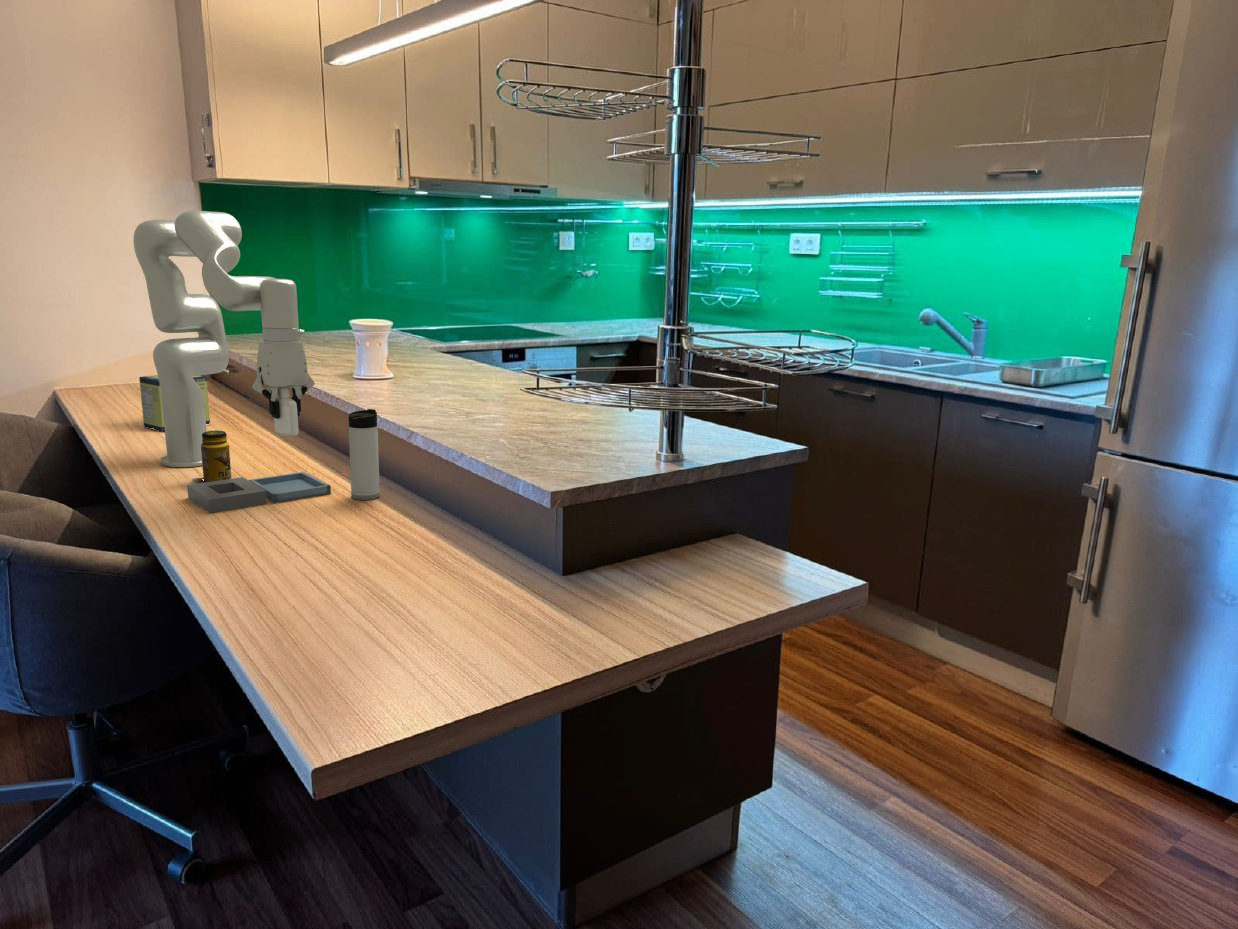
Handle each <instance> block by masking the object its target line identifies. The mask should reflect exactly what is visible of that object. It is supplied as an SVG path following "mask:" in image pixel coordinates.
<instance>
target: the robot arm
mask: <svg viewBox="0 0 1238 929" xmlns="http://www.w3.org/2000/svg"><path fill="white" fill-rule="evenodd" d="M242 235H243V233H242V227H241V225H240V222H239V221H238V220H237V219H236V218H235V217H234V216H233V215H231V214H230V213H227V212H221V211H220V212H219V211H206V210H187V211H185V212H182V213H180V214H179V215H178V216H177V217H176V218H175V220H173V219H150V220H146V221H143V222H141V223H139V224H138V225H137V227H135V230H134V232H133V240H132V241H133V242H132V243H133V248H134V250H133V251H134V253H135V256H136V257H135V258H136V259H137V262H138V264H139V265H140V266H139V267H140V268H141V270H142V273H143V276H144V278H145V283H146V289H147V296H148V299H149V304H150V310H151V315H152V320H153V322H154V325H155V327H156V329H158V330H159V331H160V332H163V333H167V334H181V333H182V334H184V333H185V334H186V333H197V334H198V337H197V336H196V337H181V338H180V337H179V338H169V339H166V340H163V341H160V342H159V343H157V344H156V345H155V347H154V349H153V352H152V359H153V363H154V366H155V369H156V370H155V371H156V373H157V374H156V375H158V378H159V382H160V388H161V397H162V407H163V417H164V428H165V432H164V436H165V446H166V447H165V448H166V455H165V456H162V457H161V458H160V464H161V465H162V466H165V467H169V468H190V467H191V468H192V467H193V468H194V467H200V466H203V465H202V453H201V445H202V443H203V442H202V439H203V438H202V433H204V432H207V426H206V419H205V406H204V396H203V392H202V390H201V388H200V387H199V385H198V384H197V383H196V382H195V381H194V379H193V376H197V375H205V376H206V375H213V374H215V375H216V374H219V373H222V372H224V371H225V370H226V369H227V367H228V365H229V359H230V358H229V348H228V341H227V337H226V336H227V335H226V331H225V325H224V320H223V315H222V311H221V308H220V306H221V307H222V308H223V309H225V310H228V311H232V312H247V311H248V312H249V311H256V312H257V311H259V312H261V313H260V314H261V326H262V341H259V342H258V347H257V357H256V378H255V380H254V382H253V384H252V386H251V389H252V390H253V391H256V392H258V393H259V394H261V395H263V396H264V397H265V398H266V399H267V400H268V404H269V405H268V407H269V408H268V409H269V414H270V415H271V417H272V418H273V419H274V418H276V419H279V418H280V407H279V401H277V399H278V398H277V397H278V388H280V387H288V388H289V387H290V390H291V397H290V398H291V399H293V400H294V401H295V402H296V404H297V415H298V417H300V415H301V412H302V403H301V401H302V399H303V397H304V395H305V393H307V392H308V390H309V389H311V388H312V387H314V386H315V382H314V380H313V378H312V376H310V374H309V372H308V364H307V358H306V357H307V356H306V352H305V348H304V344H303V341H301V337H302V336H303V337H304V336H305V335H306V332H305V331H306V330H304V329H300V327H299V312H298V311H299V310H298V309H299V308H298V292H297V285H296V283H295V281H294V280H292V279H288V278H286V279H285V278H276V277H272V276H263V275H262V276H261V275H260V276H257V275H256V276H255V275H254V276H253V275H251V276H250V275H240V276H239V275H238V276H237V275H230V274H229V272H231V271H232V270H234V268H235V267H236V266H237V265H238V263H239V262H240V258H241V251H240V248H239V244H241V241H242V238H243V236H242ZM169 257H187V258H188V257H189V258H190V257H191V258H193V257H194V258H195V257H196V259H198V260H199V261H200V263H202V266H201V279H202V282H203V286H204V287H205V290H206V292H207V293H208V294H209V295H208V294H204V293H188V291H187V286H186V281H185V277H184V274H183V272H182V271H181V269H180V268H179V266H178V265H177V264H176V263H175V262H174V261H173V260H172V259H171V258H169ZM263 386H265V387H266V388H267V389H266V388H264V387H263Z"/></svg>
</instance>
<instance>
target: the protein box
mask: <svg viewBox="0 0 1238 929" xmlns="http://www.w3.org/2000/svg"><path fill="white" fill-rule="evenodd" d="M207 376H208V375H206V374H205V375H197V376H193V379H194V381H195V382H196V383H197V384H198V385H199V387H200V388H201V390H202V392H203V396H204V406H205V419H206V424H209V423H210V424H211V418H210V417H211V416H210V405H209V404H210V402H209V391H208V378H207ZM139 389H140V400H141V409H142V420H143V427H144V426H145V427H148V428H147V429H149V428H154V429H156V430H155V431H157V430H159V431H158V432H161V431H165V428H164V417H163V407H162V397H161V388H160V382H159V378H158V374H156V375H155V374H153V375H146V376H144V375H143V376H139ZM145 427H144V428H145Z"/></svg>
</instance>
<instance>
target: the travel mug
mask: <svg viewBox="0 0 1238 929" xmlns="http://www.w3.org/2000/svg"><path fill="white" fill-rule="evenodd" d="M378 429H379V428H378V412H377V411H376V409H374V408H373V409H371V408H368V409H361V410H356V411H352V412H350V413H349V414H348V444H349V469H350V490H351V492H350V495H351V498H352V499H354V500H357V501H371V500H372V501H373V500H376V499H378V498H379V497H380V496H381V495H380V492H381V491H380V490H381V489H380V467H379V466H380V464H379V432H378V431H379V430H378ZM377 497H378V498H377ZM375 498H376V499H375Z"/></svg>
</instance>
